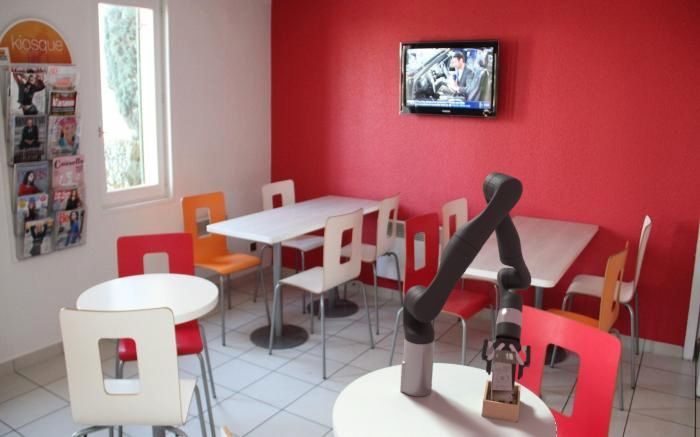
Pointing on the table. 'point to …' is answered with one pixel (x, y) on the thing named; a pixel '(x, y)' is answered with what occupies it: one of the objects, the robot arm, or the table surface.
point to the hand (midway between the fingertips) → (503, 376)
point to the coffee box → (503, 376)
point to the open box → (501, 405)
